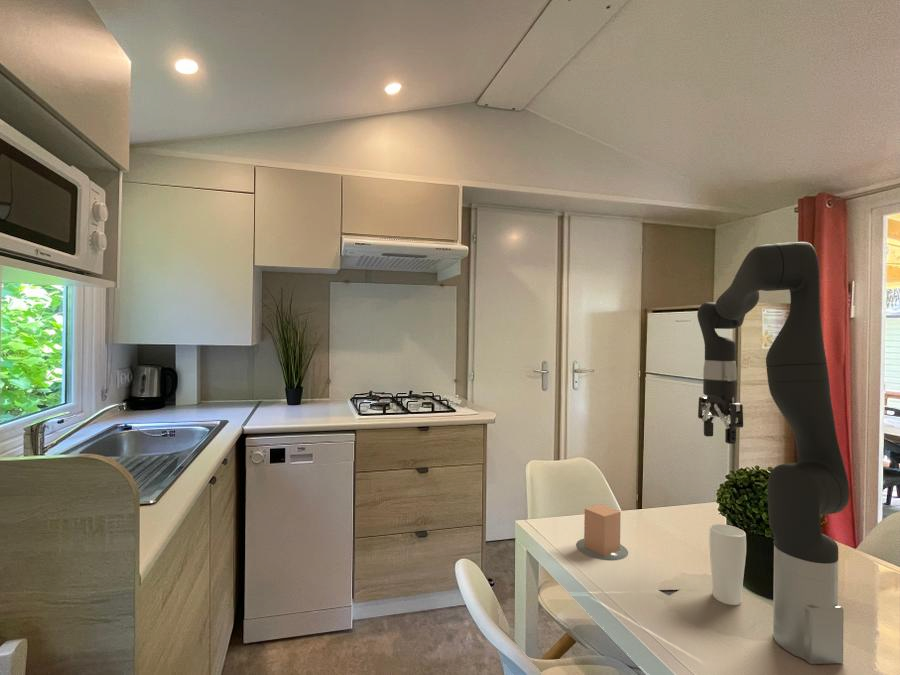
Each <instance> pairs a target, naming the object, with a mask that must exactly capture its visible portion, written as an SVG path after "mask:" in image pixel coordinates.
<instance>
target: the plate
mask: <svg viewBox="0 0 900 675" xmlns="http://www.w3.org/2000/svg"><path fill="white" fill-rule="evenodd" d="M575 546H576V548H577V550H578V551H579V552H581V553H582V554H583V555H585V556H587V557H591V558H593V559H598V560H601V561H602V560H603V561H619V560H623V559H625V558H627V557H628V555H629V551H628V548H626V547H625V546H624V545H622V544H621V543H620V550H619V551H616V552H614V553H611V554H609V555H606V556H603V555H601V554H599V553H597V552H595V551H593V550H591V549H589V548H587V547H584V538H581V539H579V540H578V541H576V544H575Z"/></svg>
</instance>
